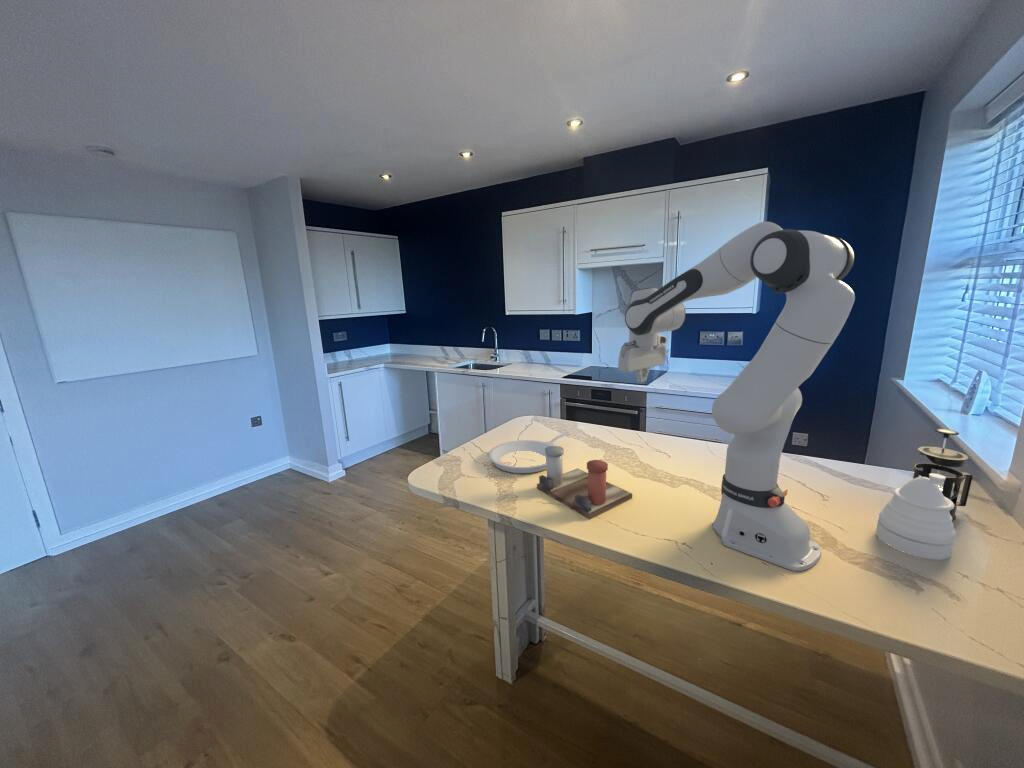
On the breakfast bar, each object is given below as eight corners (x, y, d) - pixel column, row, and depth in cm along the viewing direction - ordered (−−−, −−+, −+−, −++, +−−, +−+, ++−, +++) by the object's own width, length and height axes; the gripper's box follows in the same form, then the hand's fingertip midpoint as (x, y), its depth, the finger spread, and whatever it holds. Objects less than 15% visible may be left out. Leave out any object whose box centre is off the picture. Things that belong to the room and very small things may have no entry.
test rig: (632, 498, 120) (632, 484, 119) (589, 519, 110) (589, 504, 109) (577, 472, 138) (577, 460, 137) (537, 488, 128) (536, 475, 127)
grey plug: (567, 483, 127) (567, 449, 124) (553, 488, 124) (553, 454, 121) (555, 476, 132) (555, 444, 129) (541, 481, 128) (541, 449, 126)
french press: (914, 518, 105) (931, 434, 100) (894, 500, 113) (909, 423, 108) (974, 525, 101) (995, 438, 96) (948, 506, 110) (967, 426, 104)
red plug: (611, 500, 115) (612, 464, 113) (597, 507, 112) (597, 470, 110) (596, 493, 120) (596, 458, 117) (582, 499, 117) (582, 463, 114)
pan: (475, 462, 151) (474, 450, 150) (545, 435, 176) (545, 425, 175) (522, 484, 132) (522, 471, 131) (594, 451, 157) (594, 439, 155)
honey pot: (965, 552, 91) (983, 479, 87) (927, 565, 88) (944, 489, 84) (898, 522, 103) (911, 457, 99) (862, 532, 100) (874, 465, 96)
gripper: (630, 343, 121) (628, 388, 124) (670, 337, 132) (668, 378, 135) (613, 342, 126) (612, 385, 129) (654, 336, 137) (652, 375, 140)
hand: (641, 381), depth 132 cm, fingers closed
